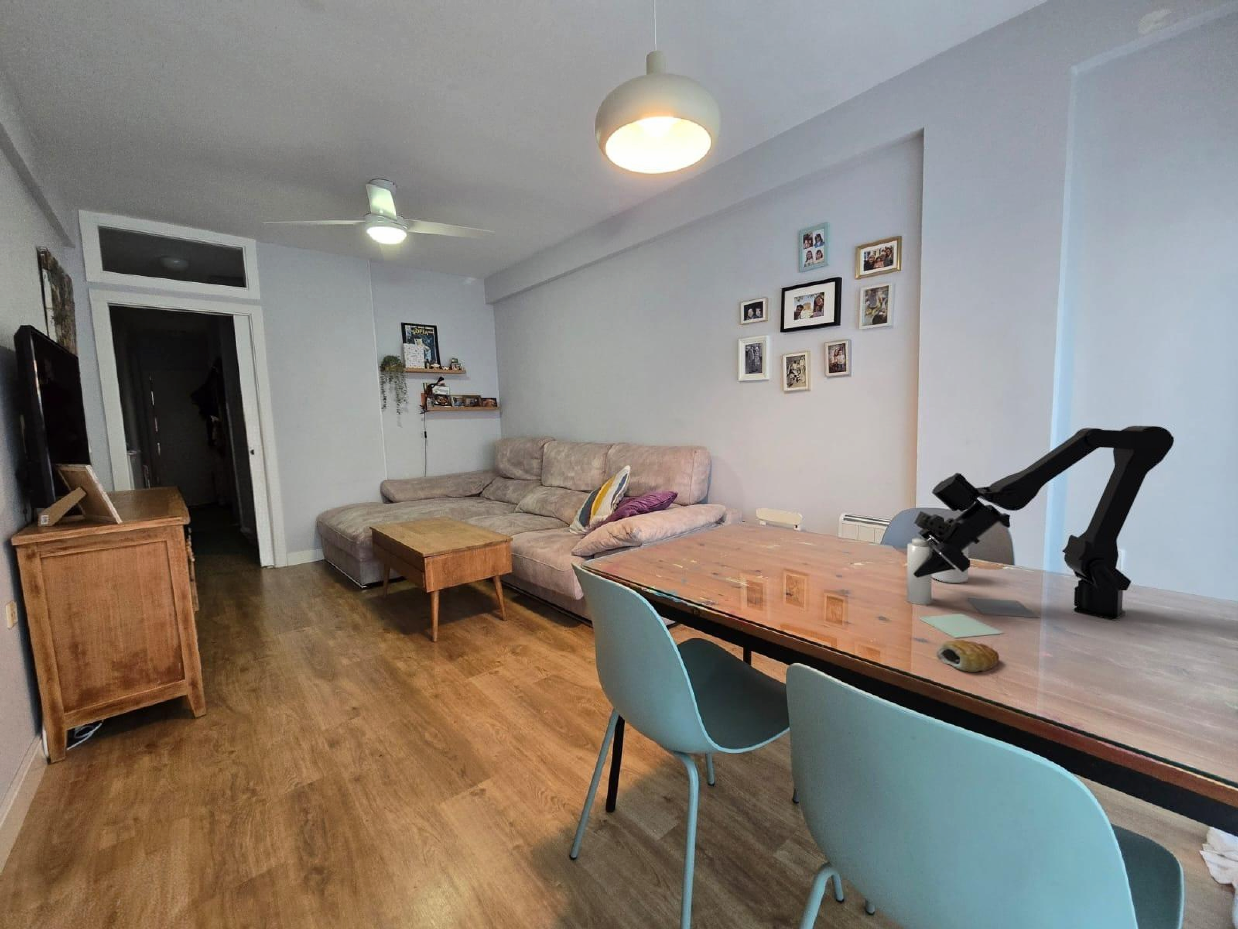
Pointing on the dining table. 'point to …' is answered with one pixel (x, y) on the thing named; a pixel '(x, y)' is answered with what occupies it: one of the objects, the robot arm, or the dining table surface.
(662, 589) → the dining table surface
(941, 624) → the green tile
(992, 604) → the felt pad
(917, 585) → the white bottle
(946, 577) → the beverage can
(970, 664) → the pastry
